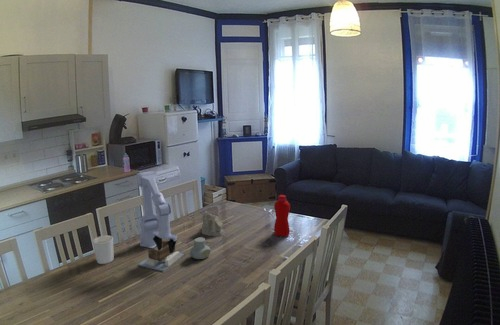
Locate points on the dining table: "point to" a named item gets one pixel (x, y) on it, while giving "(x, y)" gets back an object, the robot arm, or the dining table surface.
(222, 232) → the beige rock
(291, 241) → the dining table surface
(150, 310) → the dining table surface
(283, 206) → the water bottle
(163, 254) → the wooden c-shaped bracket
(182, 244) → the dining table surface
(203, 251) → the air freshener
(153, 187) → the robot arm
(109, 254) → the candle holder
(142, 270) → the dining table surface
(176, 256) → the display stand
